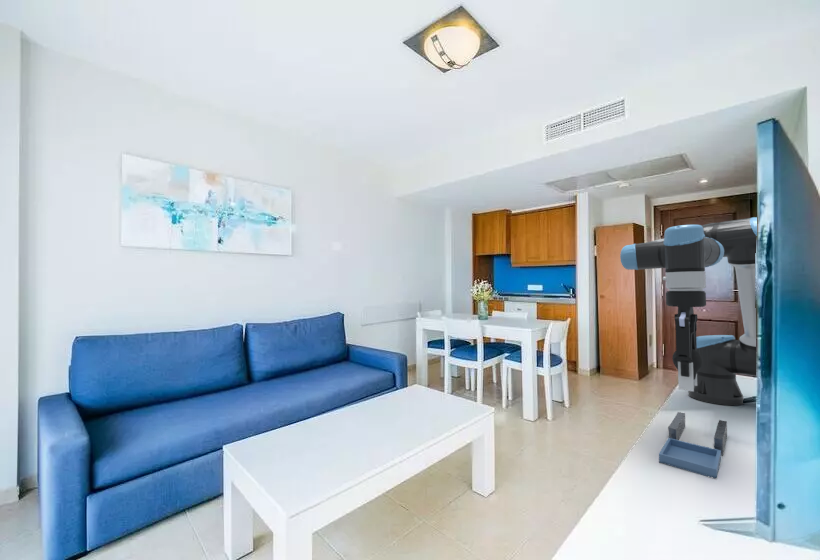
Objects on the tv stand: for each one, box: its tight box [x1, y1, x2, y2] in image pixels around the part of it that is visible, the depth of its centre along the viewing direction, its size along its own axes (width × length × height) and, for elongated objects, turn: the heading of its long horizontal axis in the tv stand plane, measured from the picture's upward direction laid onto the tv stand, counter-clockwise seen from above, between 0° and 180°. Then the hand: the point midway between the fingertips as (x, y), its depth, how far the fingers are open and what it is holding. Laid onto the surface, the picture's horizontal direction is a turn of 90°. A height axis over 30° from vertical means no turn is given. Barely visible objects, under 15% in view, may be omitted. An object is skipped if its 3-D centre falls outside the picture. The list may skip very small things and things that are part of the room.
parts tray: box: [658, 437, 722, 479], centre depth 82 cm, size 12×10×2 cm
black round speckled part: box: [672, 349, 703, 386], centre depth 82 cm, size 6×6×10 cm
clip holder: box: [667, 411, 728, 457], centre depth 93 cm, size 16×11×4 cm
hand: (688, 387), depth 82 cm, fingers closed on black round speckled part, 6 cm apart
